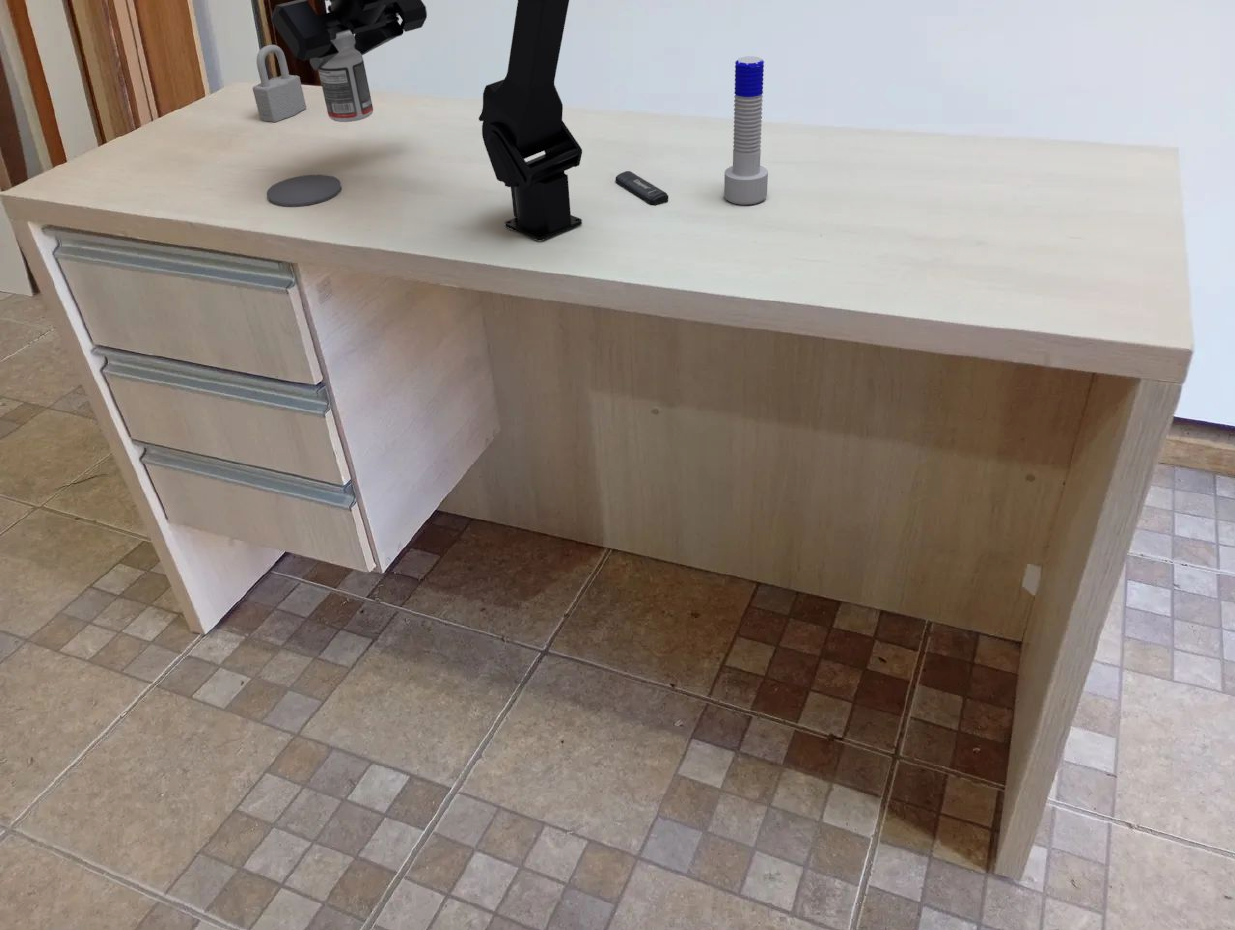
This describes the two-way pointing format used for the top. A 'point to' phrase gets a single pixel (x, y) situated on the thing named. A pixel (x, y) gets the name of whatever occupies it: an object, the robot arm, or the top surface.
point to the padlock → (277, 89)
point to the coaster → (304, 190)
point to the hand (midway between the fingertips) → (333, 61)
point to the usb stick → (642, 188)
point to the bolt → (747, 136)
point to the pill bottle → (346, 82)
